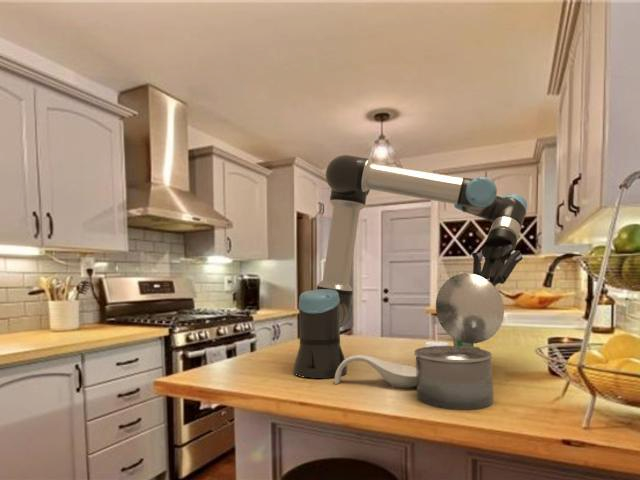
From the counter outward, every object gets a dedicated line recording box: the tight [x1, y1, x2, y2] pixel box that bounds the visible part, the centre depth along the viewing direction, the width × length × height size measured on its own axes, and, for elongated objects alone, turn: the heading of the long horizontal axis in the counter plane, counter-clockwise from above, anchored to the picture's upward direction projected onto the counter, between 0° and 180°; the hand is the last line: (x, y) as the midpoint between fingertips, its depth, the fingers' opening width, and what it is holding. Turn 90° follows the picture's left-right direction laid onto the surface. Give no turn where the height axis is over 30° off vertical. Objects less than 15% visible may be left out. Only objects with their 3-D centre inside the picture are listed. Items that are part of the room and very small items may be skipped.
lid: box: [435, 272, 505, 344], centre depth 99 cm, size 17×17×3 cm
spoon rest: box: [334, 354, 417, 389], centre depth 104 cm, size 24×12×7 cm, turn 80°
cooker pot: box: [414, 345, 494, 411], centre depth 92 cm, size 18×16×10 cm
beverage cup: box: [424, 323, 450, 347], centre depth 110 cm, size 6×6×14 cm
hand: (480, 302), depth 100 cm, fingers closed
